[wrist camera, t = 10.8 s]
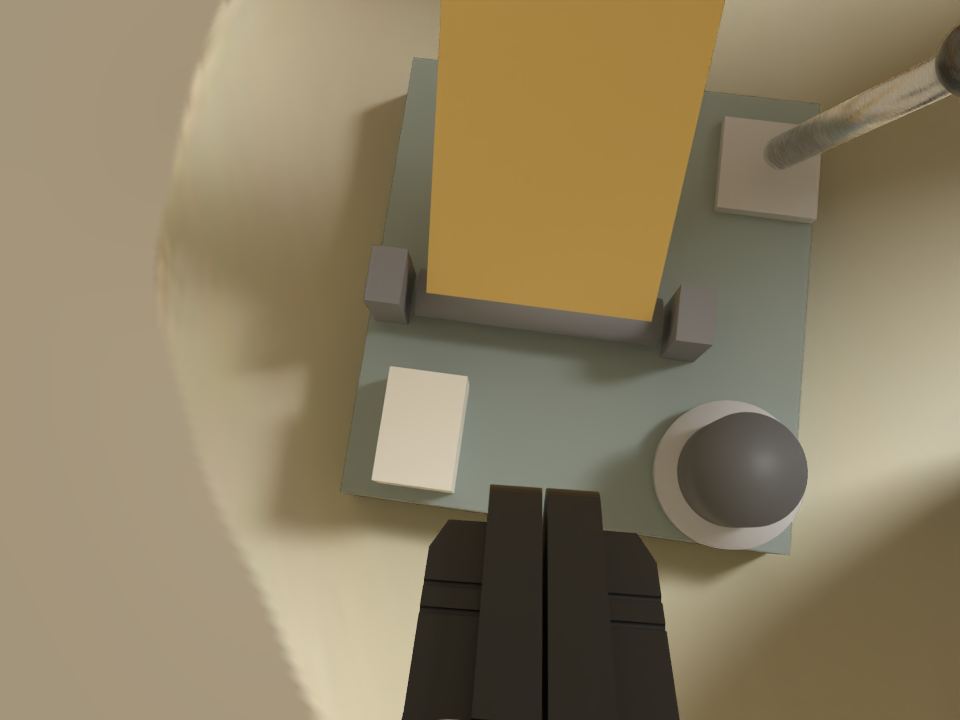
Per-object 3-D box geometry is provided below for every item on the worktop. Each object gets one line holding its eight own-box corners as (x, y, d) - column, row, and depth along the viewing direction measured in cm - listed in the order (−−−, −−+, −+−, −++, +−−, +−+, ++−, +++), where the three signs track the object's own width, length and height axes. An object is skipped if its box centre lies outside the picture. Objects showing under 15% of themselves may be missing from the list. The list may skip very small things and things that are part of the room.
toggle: (747, 121, 26) (990, -13, 19) (794, 139, 26) (1046, 17, 19) (742, 178, 25) (988, 63, 18) (790, 194, 26) (1044, 90, 19)
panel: (419, 88, 30) (404, 11, 25) (801, 133, 29) (855, 62, 25) (351, 497, 27) (321, 491, 22) (771, 557, 26) (826, 562, 22)
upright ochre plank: (422, 300, 26) (452, -311, 18) (652, 330, 26) (793, -280, 17) (413, 324, 25) (442, -318, 17) (654, 356, 25) (806, -283, 16)
